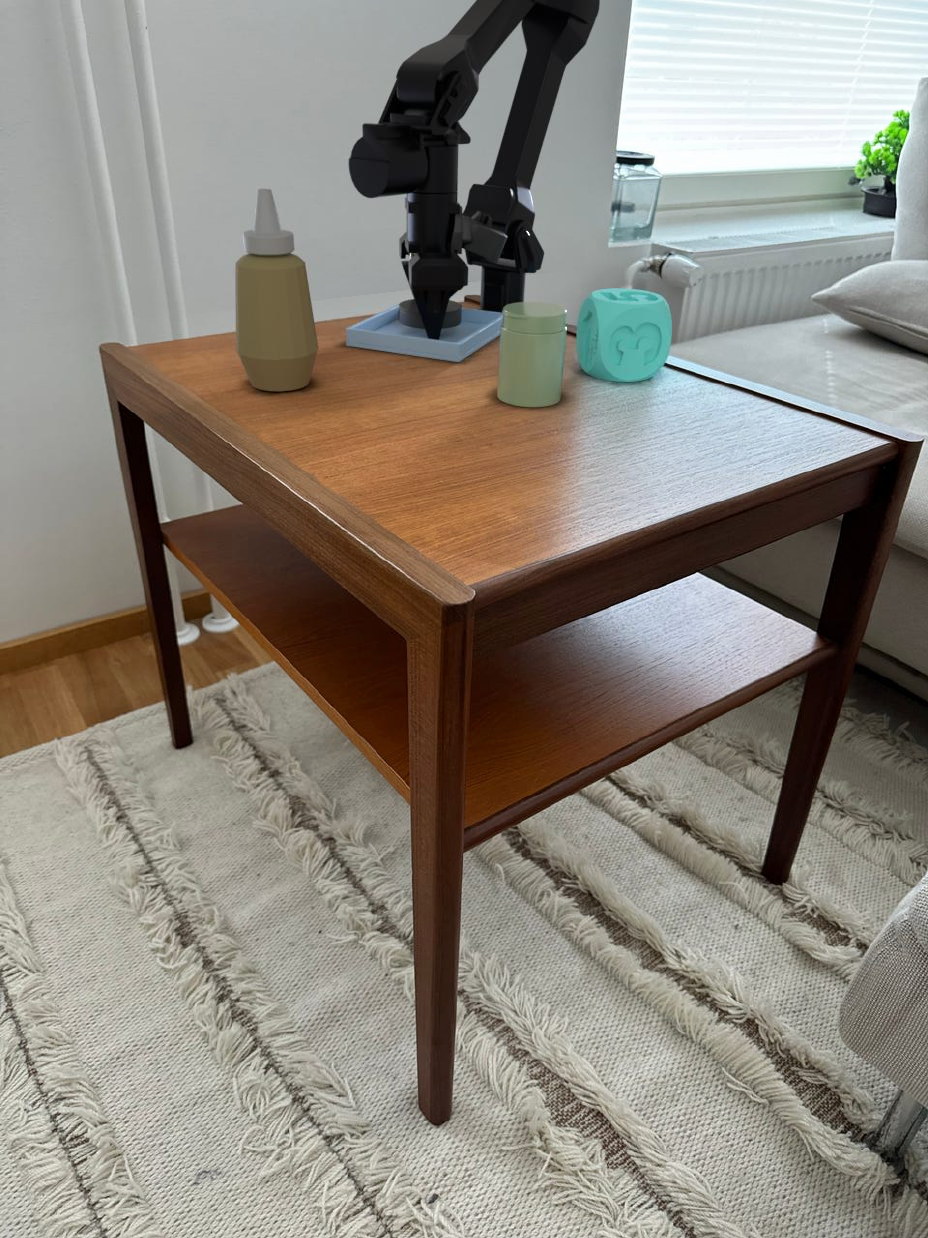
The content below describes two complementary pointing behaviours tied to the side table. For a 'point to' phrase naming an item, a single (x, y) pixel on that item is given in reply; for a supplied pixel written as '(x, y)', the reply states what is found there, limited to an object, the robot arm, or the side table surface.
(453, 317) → the lid
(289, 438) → the side table surface
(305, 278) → the squeeze bottle
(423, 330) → the tray
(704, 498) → the side table surface
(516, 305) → the jar
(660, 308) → the decorative dice
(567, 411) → the side table surface
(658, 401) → the side table surface
